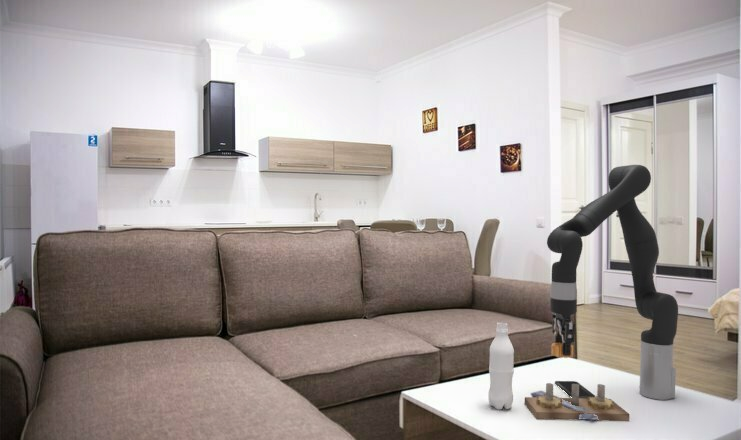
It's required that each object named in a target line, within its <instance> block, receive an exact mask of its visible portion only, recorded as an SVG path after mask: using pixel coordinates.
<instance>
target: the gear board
mask: <svg viewBox="0 0 741 440" xmlns="http://www.w3.org/2000/svg"><path fill="white" fill-rule="evenodd" d="M596 392H597V394H596V395H595V396H594V397H592V398H591V397H588V398H579V385H578V384H572V398H570V397H557V396H555V395H554V384H553V383H551V382H548V383H546V384H545V395H544V394H543V395H542V396H540V395H538V396H536V397H535V396H524V405H525V406H526V408H527V409H528V410H529V411H530V412H531V414H532V415H533V417H534V418H535V419H536V420H555V419H579V415H580V414H584V413H587V414H595V415H597V416H598V419H599V420H598V421H602V420H609V422H611V421H612V422H613V421H614V422H630V413H629V412H628V411H626V410H625V409H624V408H623V407H621V406H620V405H619V404H617V402H615V401H614V400H612V399H611V398H608V397H606V396H605V394H606V393H605V392H606V385H605V384H601V383H599V384H597V391H596ZM558 398H560V399H558ZM562 399H563V400H565V401H568V402H571V404H572V405H575V406H580V407H583V408H585V409H588V410H591V411H590V412H589V411H576V410H572V409H568V408H566V407H564V406H562Z"/></svg>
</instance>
